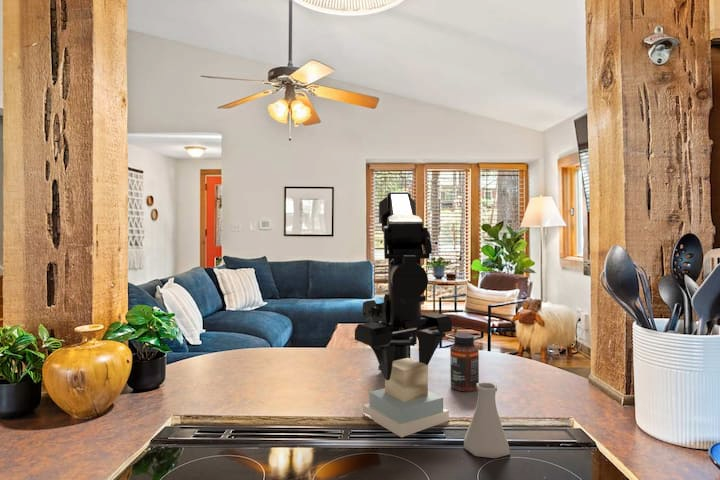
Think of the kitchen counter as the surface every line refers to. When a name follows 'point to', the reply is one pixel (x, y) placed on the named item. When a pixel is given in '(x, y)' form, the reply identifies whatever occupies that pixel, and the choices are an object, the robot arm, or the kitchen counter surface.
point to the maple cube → (407, 380)
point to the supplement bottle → (464, 363)
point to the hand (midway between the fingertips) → (405, 374)
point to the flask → (486, 426)
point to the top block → (405, 406)
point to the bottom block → (409, 426)
